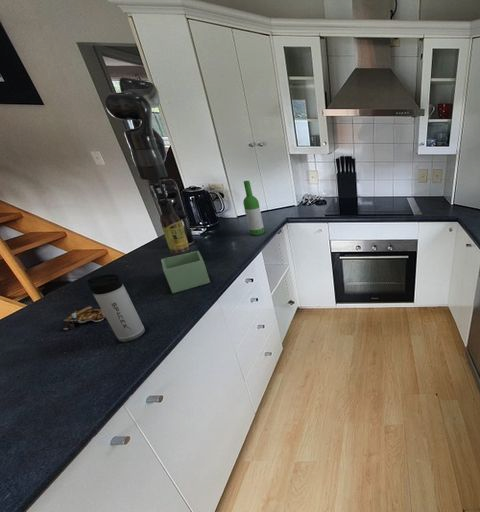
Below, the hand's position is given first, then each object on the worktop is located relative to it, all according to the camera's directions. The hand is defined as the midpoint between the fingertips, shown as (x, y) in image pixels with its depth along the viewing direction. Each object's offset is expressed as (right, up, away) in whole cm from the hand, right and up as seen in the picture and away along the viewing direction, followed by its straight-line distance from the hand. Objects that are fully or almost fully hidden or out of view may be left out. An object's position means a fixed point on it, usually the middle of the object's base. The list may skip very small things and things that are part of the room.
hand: (167, 212), depth 98 cm
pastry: (-17, -36, -9) cm, 41 cm away
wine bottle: (+5, -3, +60) cm, 60 cm away
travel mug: (+2, -40, -16) cm, 43 cm away
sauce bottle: (0, -14, +7) cm, 15 cm away
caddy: (0, -26, +12) cm, 29 cm away
